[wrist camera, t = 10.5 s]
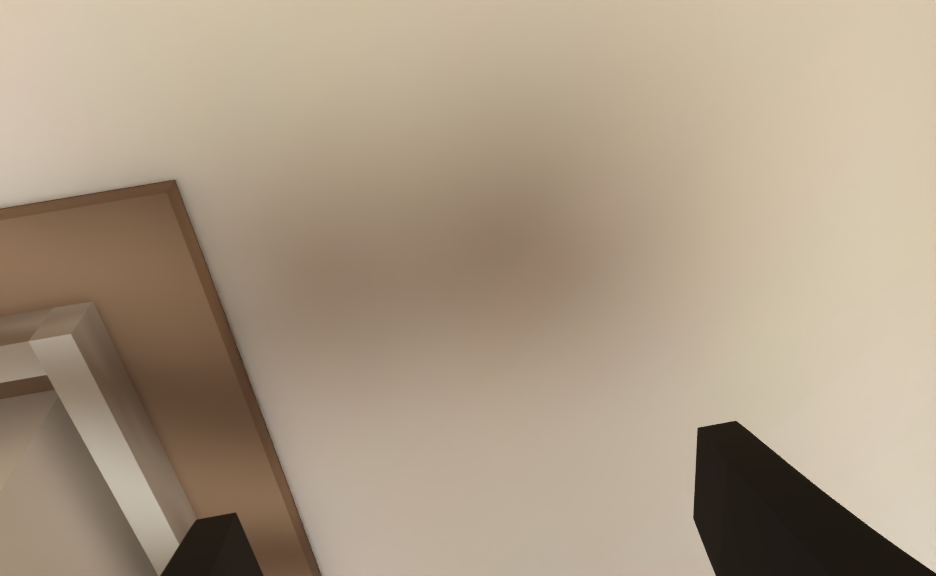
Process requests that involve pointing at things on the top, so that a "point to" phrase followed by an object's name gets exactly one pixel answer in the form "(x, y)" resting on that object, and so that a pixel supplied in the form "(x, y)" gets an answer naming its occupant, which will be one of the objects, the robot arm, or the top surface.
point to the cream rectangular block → (58, 499)
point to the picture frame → (143, 367)
